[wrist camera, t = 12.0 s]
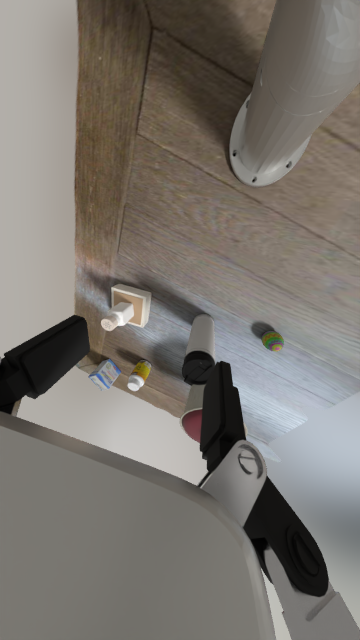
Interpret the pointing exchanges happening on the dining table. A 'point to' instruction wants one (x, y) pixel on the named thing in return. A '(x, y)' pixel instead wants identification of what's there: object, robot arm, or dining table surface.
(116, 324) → the salt shaker
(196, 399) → the canister
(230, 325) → the dining table surface
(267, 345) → the egg
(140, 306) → the pedestal
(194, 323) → the travel mug
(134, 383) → the supplement bottle
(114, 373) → the medicine box
